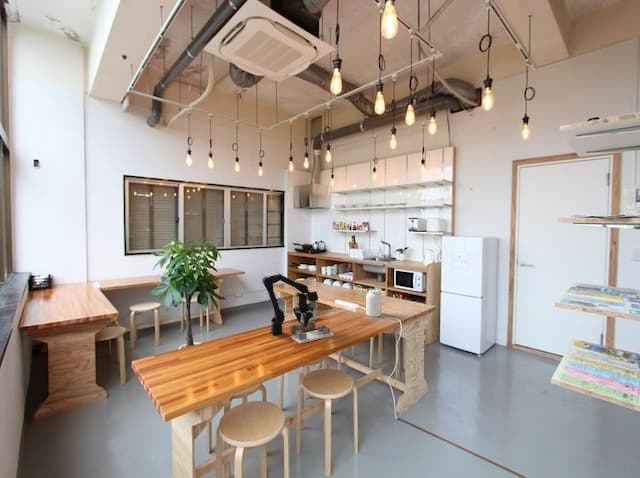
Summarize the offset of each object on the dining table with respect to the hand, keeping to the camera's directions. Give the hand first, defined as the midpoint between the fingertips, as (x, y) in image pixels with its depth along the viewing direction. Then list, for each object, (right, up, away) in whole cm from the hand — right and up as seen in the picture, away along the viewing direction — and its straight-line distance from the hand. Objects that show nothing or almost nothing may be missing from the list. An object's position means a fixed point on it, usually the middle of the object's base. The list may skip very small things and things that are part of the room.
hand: (302, 324), depth 209 cm
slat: (0, -4, 0) cm, 4 cm away
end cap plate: (+7, -5, -11) cm, 14 cm away
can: (+56, -3, +37) cm, 67 cm away
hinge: (+2, -3, +23) cm, 23 cm away
